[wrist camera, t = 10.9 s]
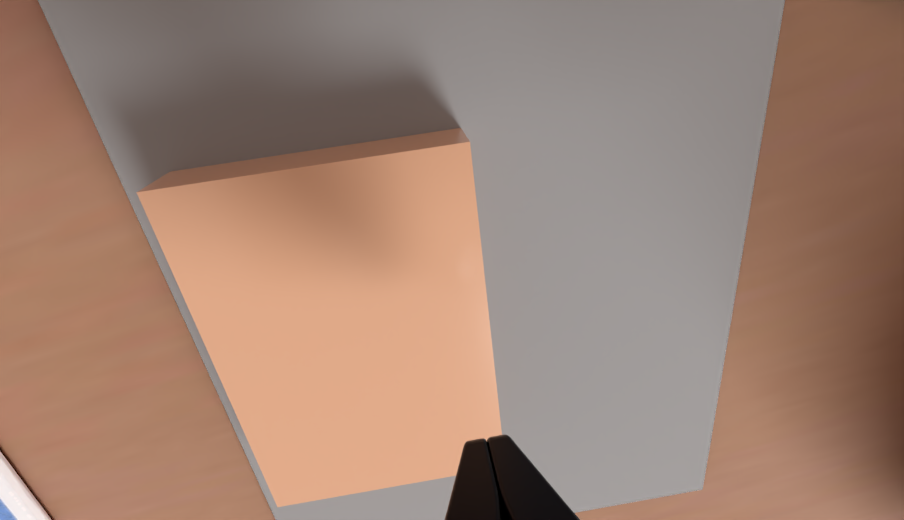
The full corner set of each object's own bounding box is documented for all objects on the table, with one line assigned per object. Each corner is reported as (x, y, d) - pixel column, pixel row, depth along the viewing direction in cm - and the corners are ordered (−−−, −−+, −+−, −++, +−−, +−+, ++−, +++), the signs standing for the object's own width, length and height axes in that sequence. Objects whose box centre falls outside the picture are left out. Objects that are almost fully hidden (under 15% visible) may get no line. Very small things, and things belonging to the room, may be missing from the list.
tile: (505, 466, 14) (277, 507, 14) (495, 427, 16) (288, 463, 16) (469, 141, 10) (136, 192, 10) (461, 128, 11) (170, 171, 11)
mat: (696, 480, 19) (702, 489, 18) (297, 552, 18) (295, 563, 18) (798, -163, 10) (814, -170, 10) (22, -62, 9) (8, -65, 9)
